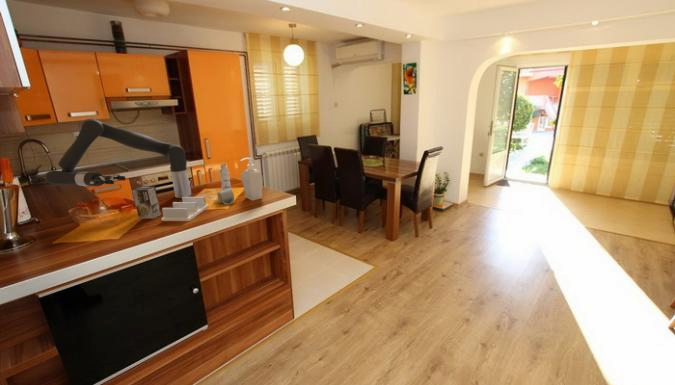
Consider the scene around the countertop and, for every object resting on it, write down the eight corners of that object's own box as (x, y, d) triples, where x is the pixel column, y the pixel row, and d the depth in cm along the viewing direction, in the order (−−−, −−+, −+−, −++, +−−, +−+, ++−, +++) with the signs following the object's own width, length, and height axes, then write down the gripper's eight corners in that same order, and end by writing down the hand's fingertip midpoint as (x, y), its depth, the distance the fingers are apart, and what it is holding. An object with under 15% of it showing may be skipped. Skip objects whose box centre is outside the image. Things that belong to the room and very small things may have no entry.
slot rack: (184, 207, 181) (182, 196, 179) (208, 207, 180) (206, 196, 178) (161, 220, 161) (159, 209, 159) (189, 221, 160) (187, 209, 158)
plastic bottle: (222, 196, 199) (218, 166, 193) (221, 193, 205) (217, 164, 199) (233, 194, 202) (229, 164, 196) (231, 192, 208) (227, 163, 202)
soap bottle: (240, 197, 195) (236, 157, 188) (255, 194, 202) (251, 155, 194) (249, 202, 186) (245, 160, 179) (264, 198, 193) (260, 157, 185)
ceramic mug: (217, 201, 188) (216, 190, 186) (230, 199, 193) (229, 187, 191) (223, 206, 180) (221, 194, 178) (237, 203, 185) (235, 191, 183)
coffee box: (161, 214, 170) (156, 186, 165) (154, 218, 164) (147, 189, 159) (146, 214, 171) (140, 186, 166) (138, 218, 165) (131, 189, 160)
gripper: (76, 175, 154) (108, 176, 154) (97, 169, 168) (127, 170, 167) (79, 189, 156) (110, 190, 156) (100, 182, 170) (129, 183, 170)
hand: (119, 180), depth 162 cm, fingers open, 8 cm apart
